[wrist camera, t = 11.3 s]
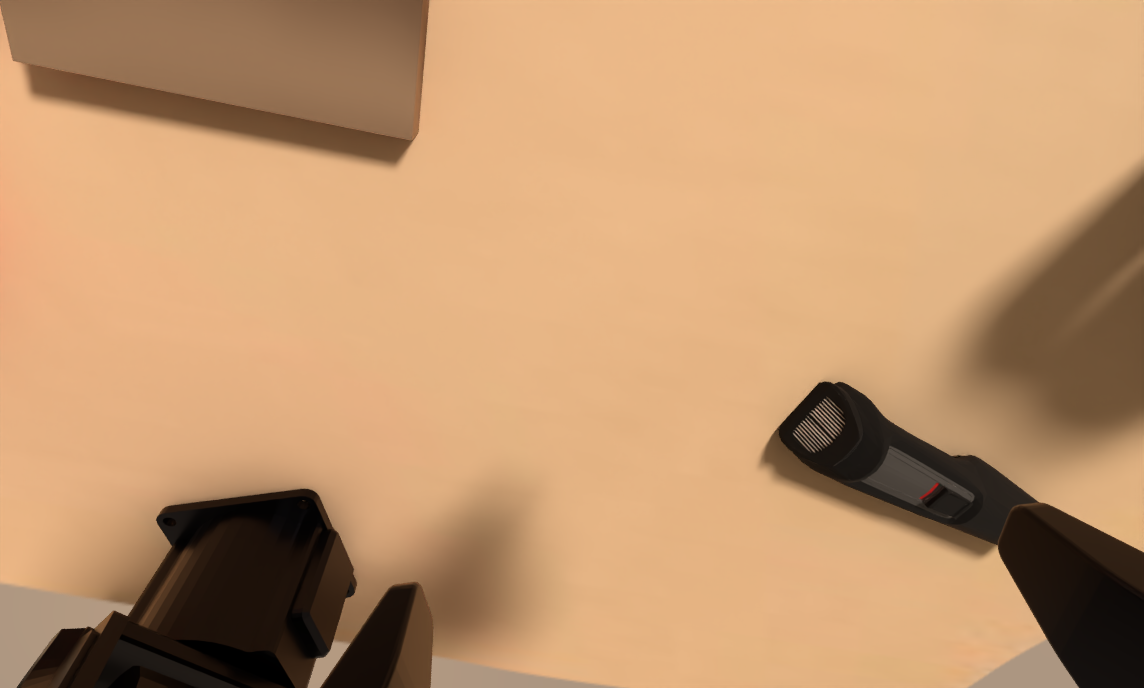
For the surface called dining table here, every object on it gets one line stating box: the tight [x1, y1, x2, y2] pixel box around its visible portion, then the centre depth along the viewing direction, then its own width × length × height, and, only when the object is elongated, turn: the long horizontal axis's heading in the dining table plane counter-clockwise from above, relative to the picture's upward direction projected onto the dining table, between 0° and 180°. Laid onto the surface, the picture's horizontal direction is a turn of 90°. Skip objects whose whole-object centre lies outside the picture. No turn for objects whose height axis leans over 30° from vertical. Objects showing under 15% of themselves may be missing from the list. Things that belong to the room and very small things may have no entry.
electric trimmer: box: [779, 382, 1039, 545], centre depth 26 cm, size 4×16×3 cm, turn 59°
